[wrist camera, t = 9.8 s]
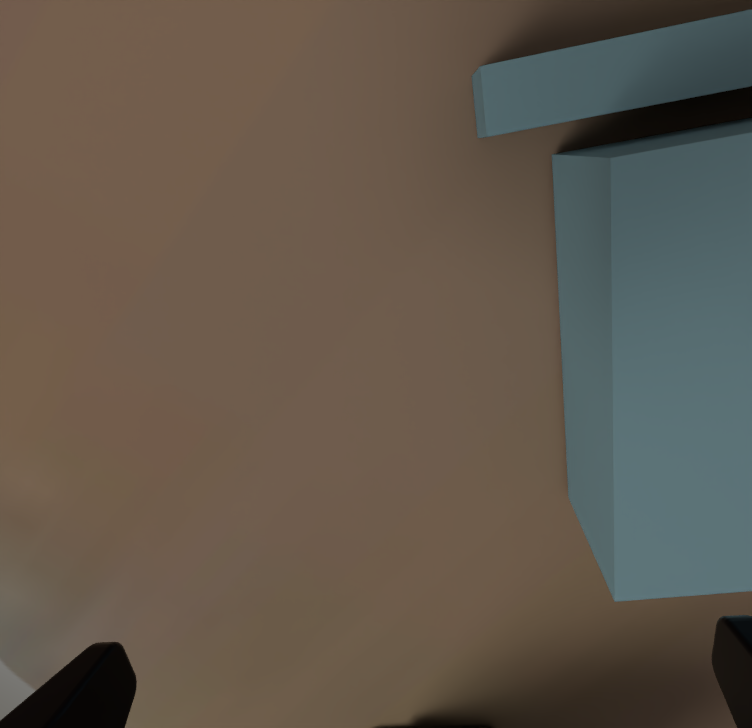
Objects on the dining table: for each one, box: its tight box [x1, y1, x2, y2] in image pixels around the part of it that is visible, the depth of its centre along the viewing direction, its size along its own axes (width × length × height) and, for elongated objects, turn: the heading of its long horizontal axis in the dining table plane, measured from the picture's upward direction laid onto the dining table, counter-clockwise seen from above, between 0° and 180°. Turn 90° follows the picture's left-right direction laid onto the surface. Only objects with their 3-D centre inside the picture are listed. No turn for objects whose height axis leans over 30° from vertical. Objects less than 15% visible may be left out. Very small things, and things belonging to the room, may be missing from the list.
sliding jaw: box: [552, 118, 752, 602], centre depth 14 cm, size 12×8×5 cm, turn 10°
